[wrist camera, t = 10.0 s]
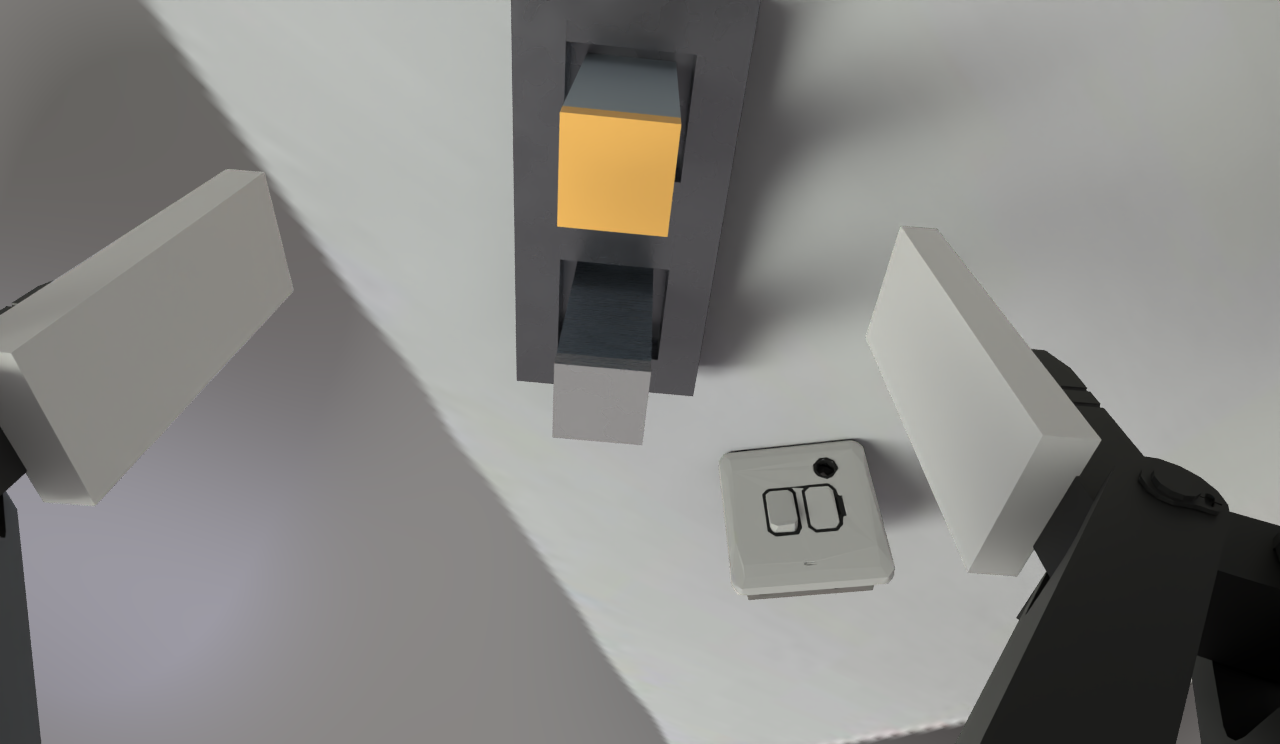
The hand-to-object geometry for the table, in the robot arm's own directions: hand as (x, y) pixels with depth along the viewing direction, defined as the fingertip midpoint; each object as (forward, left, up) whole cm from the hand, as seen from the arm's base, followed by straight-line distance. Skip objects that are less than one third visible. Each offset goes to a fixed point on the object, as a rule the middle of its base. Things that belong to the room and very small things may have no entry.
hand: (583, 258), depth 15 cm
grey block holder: (0, +7, -21) cm, 22 cm away
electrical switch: (-13, +25, -21) cm, 35 cm away
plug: (0, +2, -20) cm, 20 cm away
